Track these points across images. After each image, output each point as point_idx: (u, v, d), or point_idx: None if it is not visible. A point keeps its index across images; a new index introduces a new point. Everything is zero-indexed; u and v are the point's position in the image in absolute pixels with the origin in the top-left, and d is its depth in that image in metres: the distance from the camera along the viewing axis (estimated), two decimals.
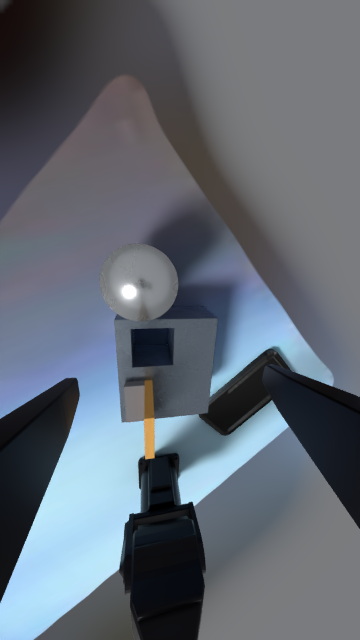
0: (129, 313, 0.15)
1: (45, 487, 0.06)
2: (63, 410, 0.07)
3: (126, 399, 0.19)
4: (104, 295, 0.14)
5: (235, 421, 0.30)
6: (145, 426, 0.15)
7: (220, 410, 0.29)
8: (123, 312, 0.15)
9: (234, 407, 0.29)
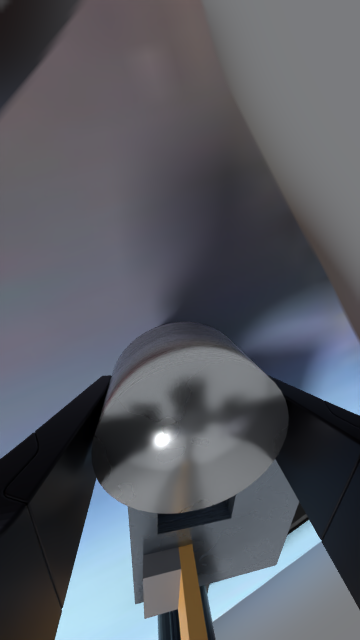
0: (165, 503, 0.06)
1: (94, 479, 0.06)
2: None
3: (146, 592, 0.10)
4: (104, 482, 0.05)
5: (291, 523, 0.21)
6: None
7: None
8: (151, 504, 0.06)
9: None
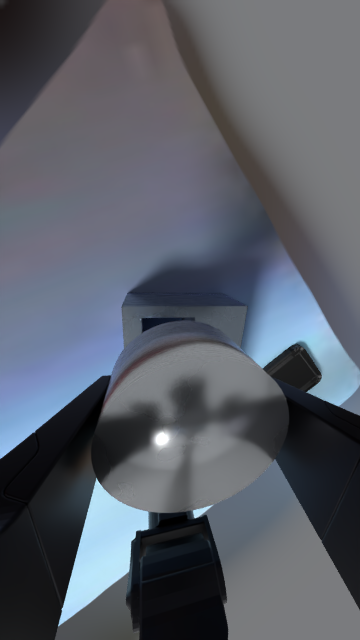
0: (165, 502, 0.06)
1: (94, 479, 0.06)
2: None
3: None
4: (104, 481, 0.05)
5: None
6: None
7: None
8: (151, 504, 0.06)
9: None
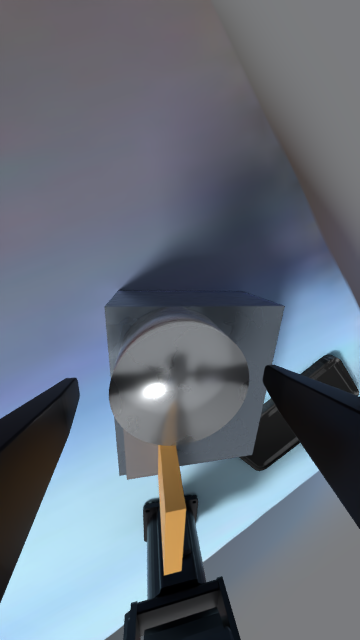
0: (160, 436, 0.08)
1: (45, 487, 0.06)
2: (63, 410, 0.07)
3: (127, 445, 0.11)
4: (117, 415, 0.08)
5: (274, 452, 0.22)
6: (167, 524, 0.07)
7: (256, 438, 0.21)
8: (150, 437, 0.08)
9: (274, 434, 0.21)
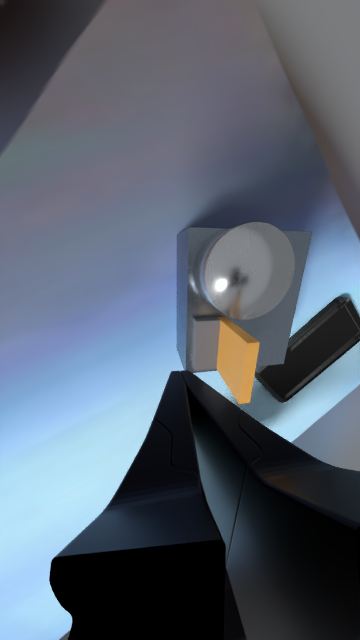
0: (234, 310, 0.12)
1: None
2: None
3: (197, 339, 0.15)
4: (209, 288, 0.12)
5: (294, 385, 0.26)
6: (247, 354, 0.11)
7: (280, 371, 0.25)
8: (228, 310, 0.12)
9: (295, 368, 0.25)
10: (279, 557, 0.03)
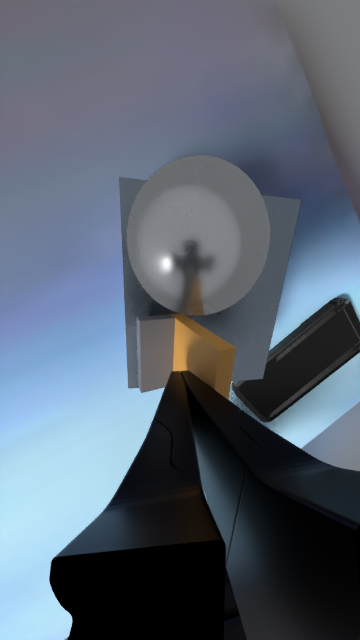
0: (177, 300, 0.08)
1: None
2: None
3: (143, 347, 0.10)
4: (134, 263, 0.07)
5: (281, 402, 0.22)
6: (218, 368, 0.07)
7: (263, 385, 0.21)
8: (167, 299, 0.08)
9: (282, 382, 0.21)
10: (278, 557, 0.03)
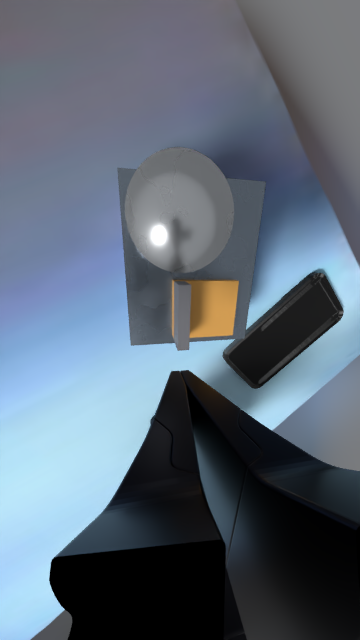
0: (165, 260, 0.11)
1: None
2: None
3: (189, 308, 0.12)
4: (131, 231, 0.10)
5: (268, 370, 0.24)
6: (237, 291, 0.15)
7: (251, 354, 0.23)
8: (157, 259, 0.11)
9: (267, 350, 0.23)
10: (278, 557, 0.03)
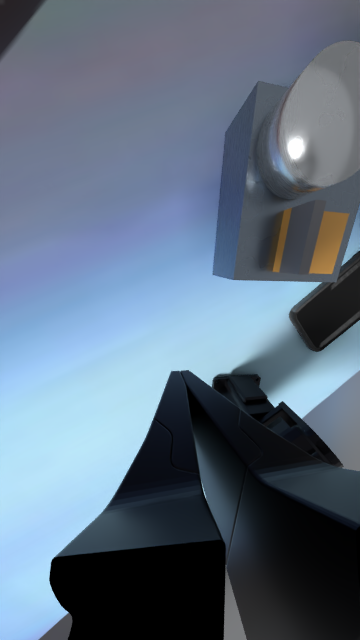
0: (312, 168, 0.11)
1: None
2: None
3: None
4: (291, 130, 0.10)
5: (330, 333, 0.24)
6: (344, 225, 0.15)
7: (317, 314, 0.23)
8: (306, 166, 0.11)
9: (333, 311, 0.23)
10: (279, 557, 0.03)
